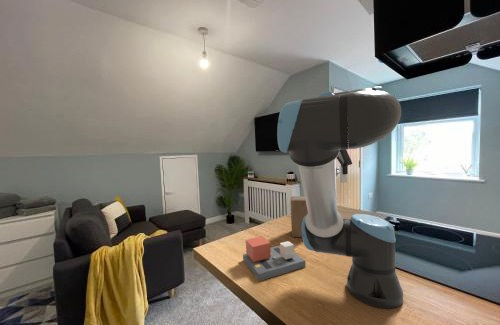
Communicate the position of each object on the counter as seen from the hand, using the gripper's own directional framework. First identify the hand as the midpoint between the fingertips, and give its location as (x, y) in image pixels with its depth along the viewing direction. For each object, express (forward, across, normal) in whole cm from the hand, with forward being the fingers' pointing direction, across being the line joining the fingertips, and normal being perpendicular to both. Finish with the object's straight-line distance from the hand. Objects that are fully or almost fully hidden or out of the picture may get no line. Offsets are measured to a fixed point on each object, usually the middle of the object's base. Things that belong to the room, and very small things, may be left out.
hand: (331, 180), depth 90 cm
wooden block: (+32, +23, 0) cm, 39 cm away
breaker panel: (+32, +4, +28) cm, 42 cm away
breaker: (+28, +1, +23) cm, 37 cm away
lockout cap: (+29, +7, +33) cm, 44 cm away
